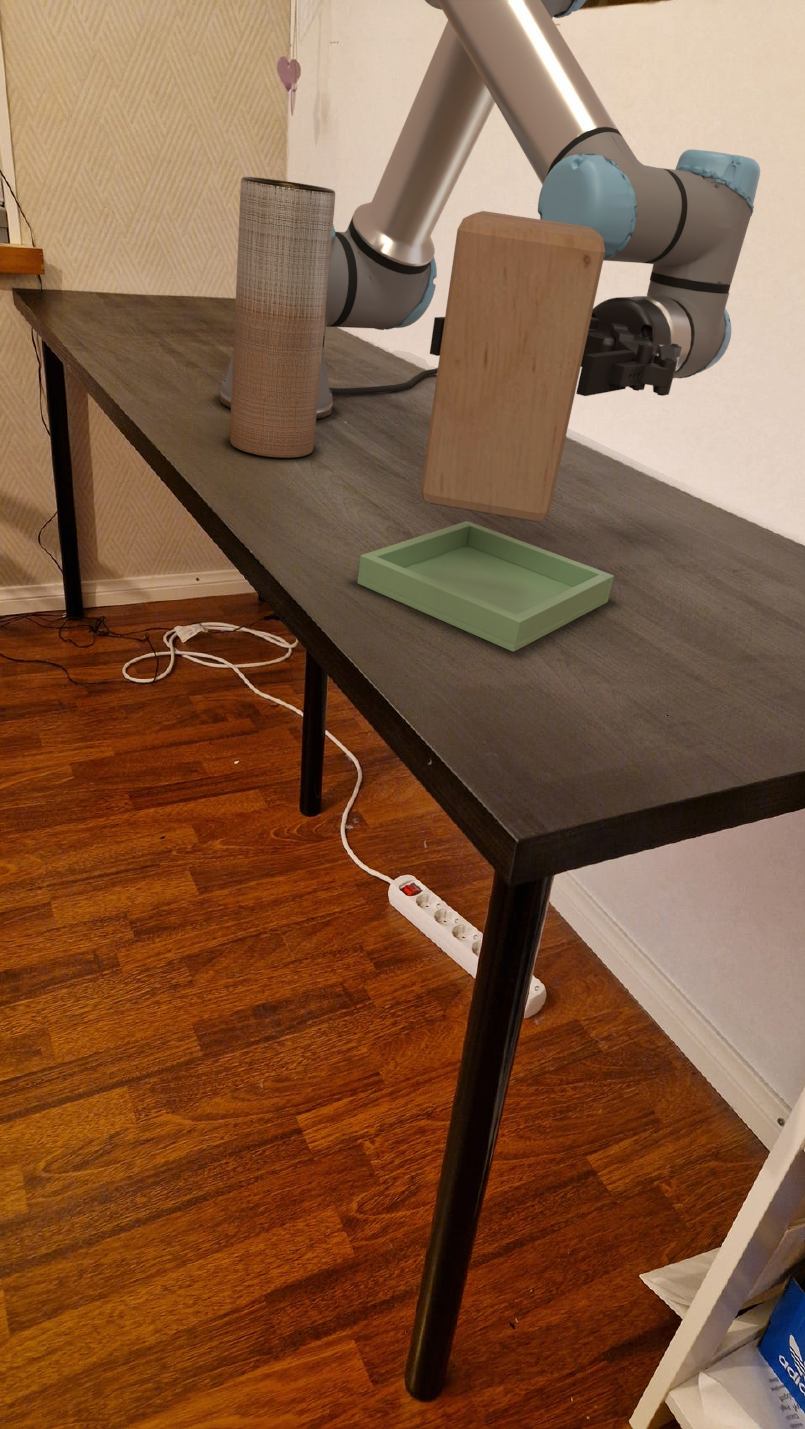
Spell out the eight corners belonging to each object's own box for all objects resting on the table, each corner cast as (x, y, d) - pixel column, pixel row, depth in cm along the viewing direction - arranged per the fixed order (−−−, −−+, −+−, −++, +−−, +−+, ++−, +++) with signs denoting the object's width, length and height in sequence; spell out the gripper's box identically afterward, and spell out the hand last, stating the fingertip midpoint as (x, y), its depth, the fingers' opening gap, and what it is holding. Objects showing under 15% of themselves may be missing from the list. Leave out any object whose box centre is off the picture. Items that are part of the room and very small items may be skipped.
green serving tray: (462, 546, 94) (467, 520, 93) (607, 602, 86) (614, 575, 85) (356, 583, 82) (360, 555, 81) (513, 652, 75) (519, 622, 73)
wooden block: (547, 527, 73) (609, 236, 63) (417, 505, 74) (458, 213, 63) (548, 490, 82) (603, 228, 72) (432, 470, 82) (470, 208, 72)
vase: (212, 443, 113) (221, 174, 99) (264, 431, 121) (279, 179, 107) (279, 464, 109) (298, 188, 95) (329, 450, 117) (353, 192, 103)
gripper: (750, 417, 83) (643, 449, 68) (511, 355, 95) (374, 370, 80) (778, 325, 79) (672, 337, 64) (525, 273, 91) (385, 271, 76)
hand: (506, 355), depth 72 cm, fingers closed on wooden block, 13 cm apart
